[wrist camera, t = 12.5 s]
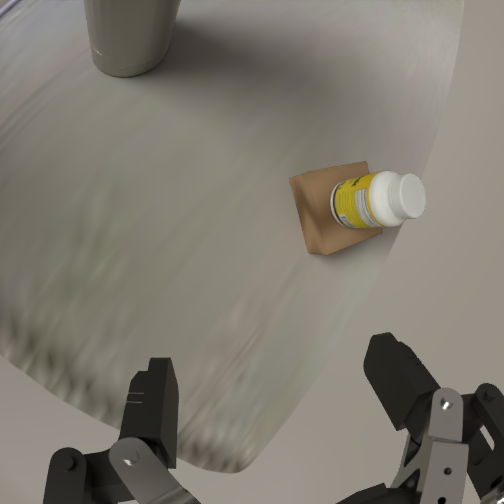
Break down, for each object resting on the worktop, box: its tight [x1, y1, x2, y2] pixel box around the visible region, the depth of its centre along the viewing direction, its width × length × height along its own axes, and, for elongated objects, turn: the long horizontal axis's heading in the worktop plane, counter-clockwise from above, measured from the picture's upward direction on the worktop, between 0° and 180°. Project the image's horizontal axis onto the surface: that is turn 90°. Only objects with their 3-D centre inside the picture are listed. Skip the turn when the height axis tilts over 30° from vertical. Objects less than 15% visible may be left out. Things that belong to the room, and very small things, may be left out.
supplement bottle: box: [330, 171, 426, 228], centre depth 27 cm, size 5×5×10 cm
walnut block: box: [289, 161, 383, 255], centre depth 34 cm, size 9×9×4 cm
